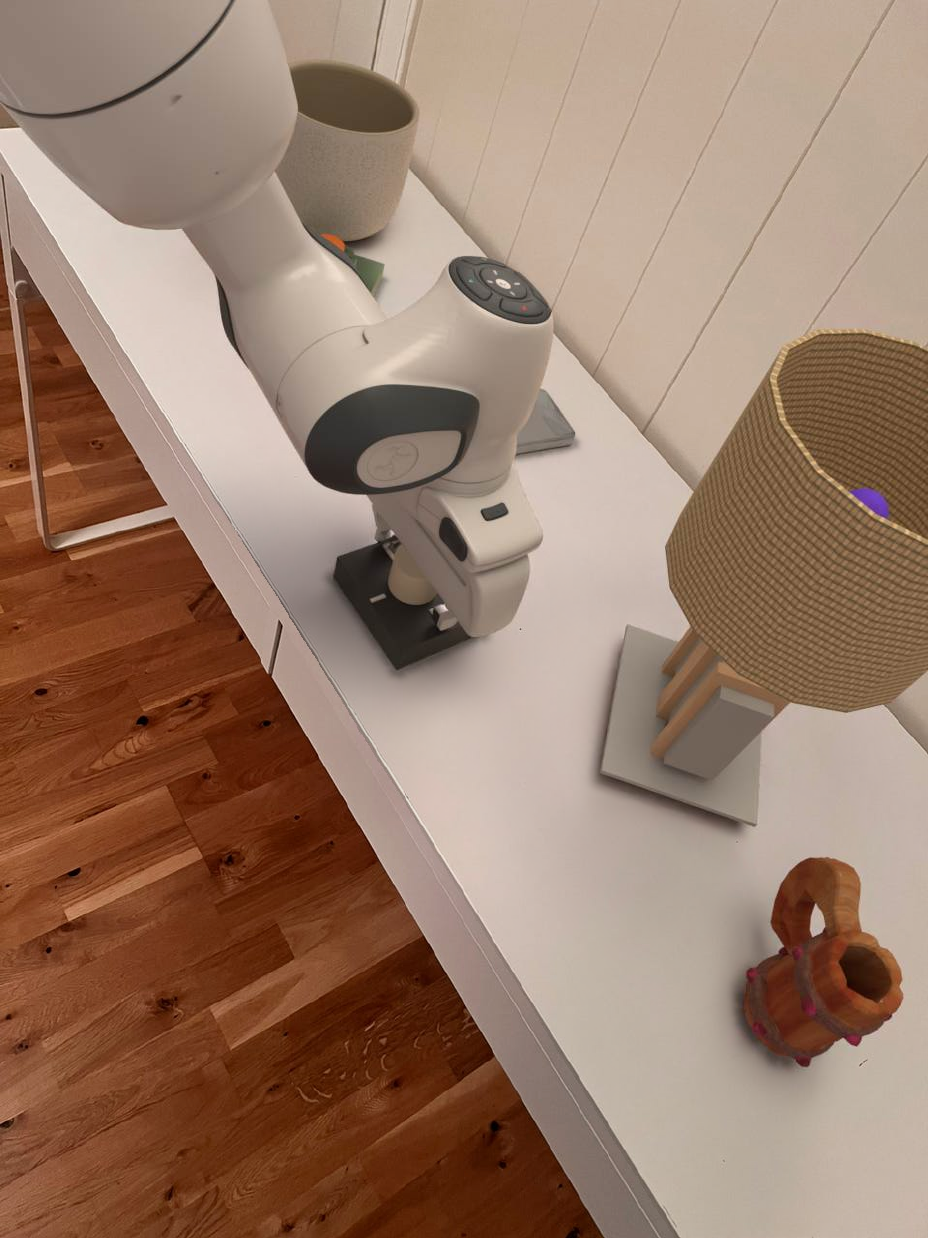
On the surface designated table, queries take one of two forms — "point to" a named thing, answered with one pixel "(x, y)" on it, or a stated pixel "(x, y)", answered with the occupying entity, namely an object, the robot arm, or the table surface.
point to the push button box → (367, 270)
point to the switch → (335, 241)
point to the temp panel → (391, 608)
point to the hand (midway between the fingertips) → (413, 581)
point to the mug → (820, 968)
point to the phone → (544, 427)
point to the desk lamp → (787, 573)
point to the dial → (409, 580)
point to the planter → (347, 148)
